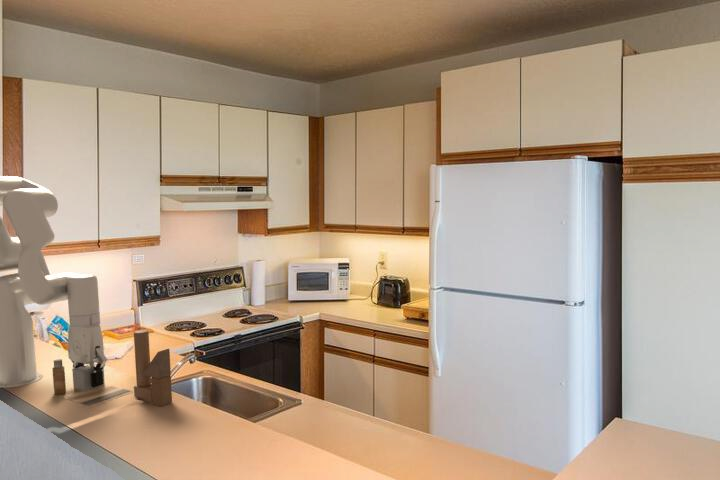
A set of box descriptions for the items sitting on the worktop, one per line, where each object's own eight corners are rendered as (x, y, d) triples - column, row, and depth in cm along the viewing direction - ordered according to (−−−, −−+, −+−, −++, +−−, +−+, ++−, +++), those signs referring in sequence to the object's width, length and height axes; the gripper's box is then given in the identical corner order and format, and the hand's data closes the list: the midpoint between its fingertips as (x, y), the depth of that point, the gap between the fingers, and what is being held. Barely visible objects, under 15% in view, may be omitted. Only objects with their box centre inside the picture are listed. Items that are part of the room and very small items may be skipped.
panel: (52, 398, 154) (51, 393, 154) (93, 384, 164) (93, 380, 164) (92, 410, 144) (91, 406, 144) (133, 395, 154) (133, 391, 154)
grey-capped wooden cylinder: (52, 393, 154) (49, 360, 153) (62, 390, 156) (59, 358, 156) (57, 395, 153) (55, 362, 152) (68, 392, 155) (65, 359, 154)
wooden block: (161, 407, 145) (157, 336, 144) (134, 399, 151) (129, 332, 150) (173, 402, 148) (169, 333, 147) (145, 395, 154) (142, 329, 153)
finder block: (73, 388, 158) (72, 368, 157) (93, 382, 163) (92, 362, 162) (84, 391, 155) (83, 371, 155) (104, 385, 160) (103, 365, 160)
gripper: (53, 319, 159) (58, 382, 160) (90, 326, 149) (95, 393, 151) (79, 314, 165) (83, 375, 167) (116, 320, 156) (120, 384, 157)
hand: (89, 383), depth 159 cm, fingers open, 6 cm apart
